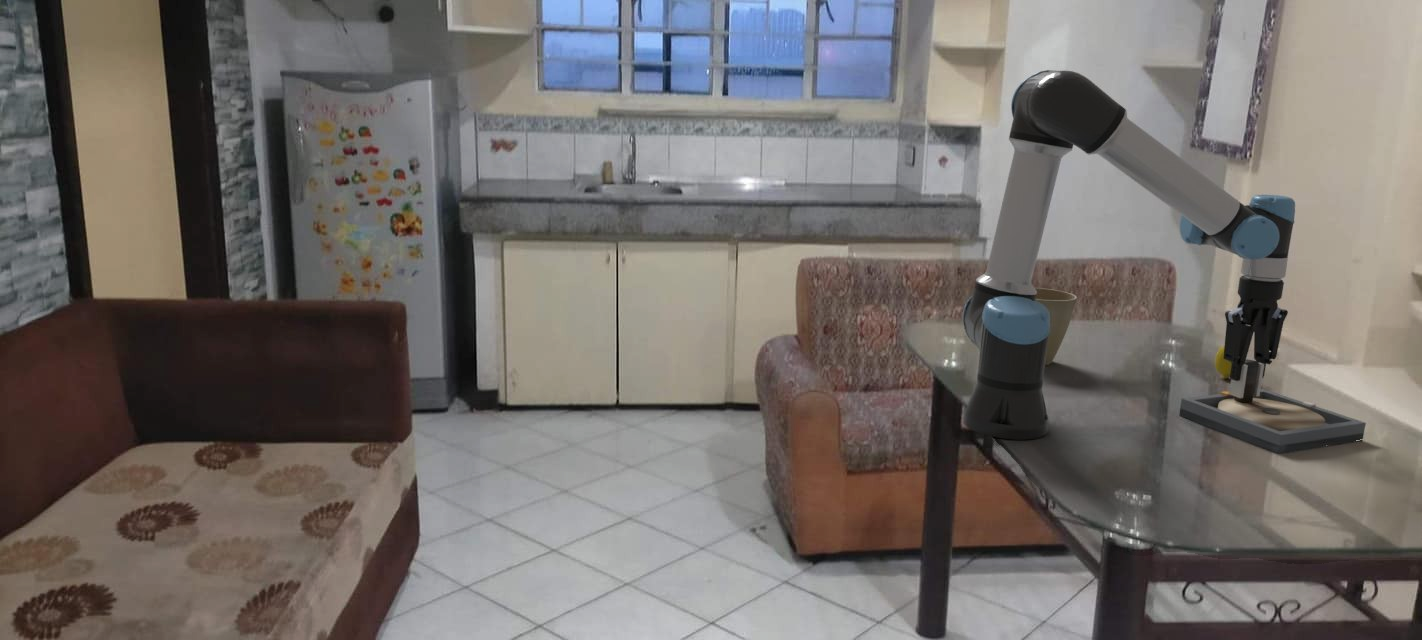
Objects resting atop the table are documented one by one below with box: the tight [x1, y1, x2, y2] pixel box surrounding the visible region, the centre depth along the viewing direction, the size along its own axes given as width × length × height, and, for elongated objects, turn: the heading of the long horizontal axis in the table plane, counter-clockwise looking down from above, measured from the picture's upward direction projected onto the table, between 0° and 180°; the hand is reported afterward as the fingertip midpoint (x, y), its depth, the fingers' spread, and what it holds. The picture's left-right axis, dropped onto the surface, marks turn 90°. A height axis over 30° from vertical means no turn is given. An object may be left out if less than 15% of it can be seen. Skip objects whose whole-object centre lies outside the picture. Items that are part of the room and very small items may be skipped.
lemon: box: [1214, 345, 1239, 379], centre depth 231 cm, size 6×6×8 cm
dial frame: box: [1178, 388, 1367, 455], centre depth 198 cm, size 22×22×4 cm
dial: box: [1218, 358, 1325, 431], centre depth 197 cm, size 18×18×10 cm
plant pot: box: [1034, 287, 1078, 366], centre depth 238 cm, size 15×15×16 cm
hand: (1244, 394), depth 204 cm, fingers open, 3 cm apart
